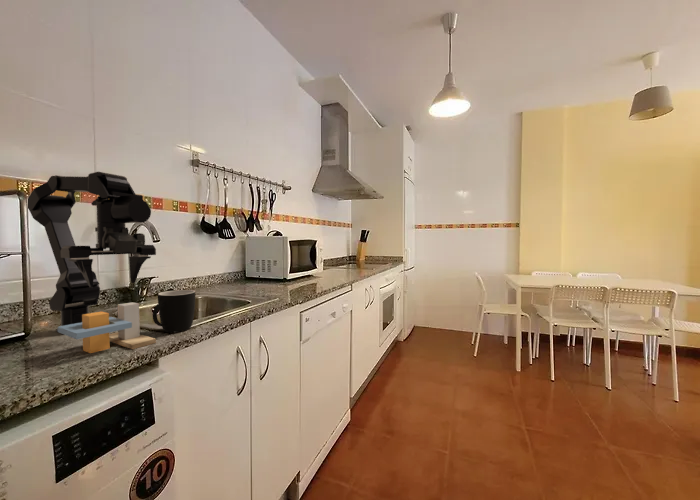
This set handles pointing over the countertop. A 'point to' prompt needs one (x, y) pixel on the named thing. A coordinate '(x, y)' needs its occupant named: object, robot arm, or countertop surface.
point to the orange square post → (96, 341)
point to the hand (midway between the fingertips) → (113, 284)
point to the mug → (175, 310)
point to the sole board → (132, 341)
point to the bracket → (110, 324)
